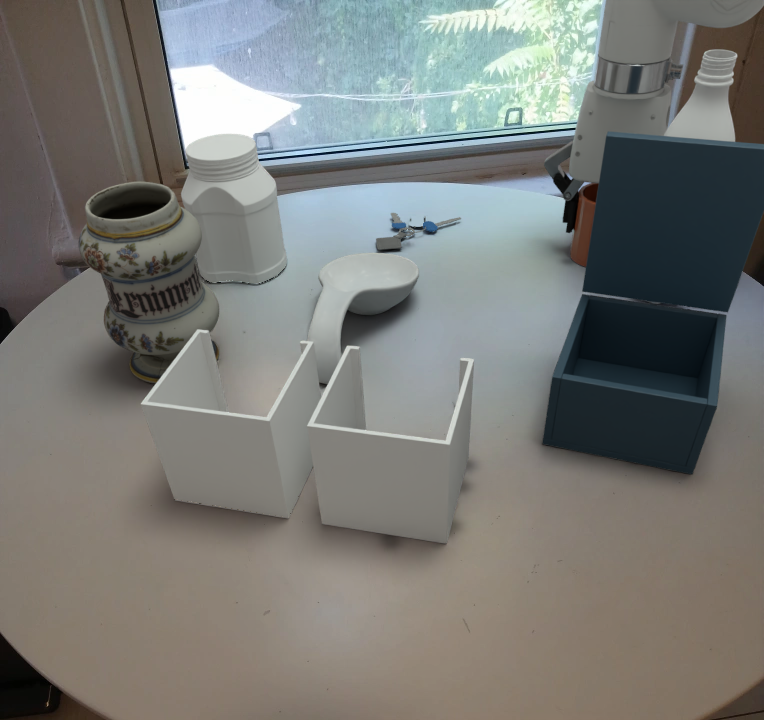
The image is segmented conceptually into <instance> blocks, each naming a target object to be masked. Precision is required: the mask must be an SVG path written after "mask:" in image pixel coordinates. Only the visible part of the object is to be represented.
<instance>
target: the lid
mask: <svg viewBox="0 0 764 720" xmlns="http://www.w3.org/2000/svg"><path fill="white" fill-rule="evenodd" d="M763 215H764V143H752V142H742V141H735V142H730V141H718V140H706V139H694V138H682V137H670V136H658V135H646V134H634V133H622V132H610V131H608V132H607V135H606V140H605V147H604V153H603V160H602V166H601V173H600V179H599V186H598V192H597V199H596V205H595V212H594V218H593V225H592V231H591V237H590V244H589V250H588V257H587V263H586V267H585V269H584V270H585V272H584V276H583V283H582V293H589V294H594V295H595V294H596V295H602V296H610V297H617V298H624V299H629V300H630V299H631V300H639V301H644V302H647V301H651V302H658V303H660V304H666V305H672V306H679V307H685V308H686V307H687V308H693V309H700V310H708V311H715V312H721V313H729V311H730V308H731V305H732V302H733V300H734V297H735V294H736V291H737V288H738V286H739V283H740V280H741V277H742V274H743V271H744V268H745V266H746V262H747V260H748V257H749V255H750V252H751V249H752V246H753V244H754V240H755V237H756V235H757V232H758V229H759V226H760V224H761V221H762V218H763Z"/></svg>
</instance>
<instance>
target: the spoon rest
mask: <svg viewBox="0 0 764 720" xmlns="http://www.w3.org/2000/svg"><path fill="white" fill-rule="evenodd" d="M419 277H420V269H419V266H418V265H417V264H416V263H415V262H414V261H412V260H411V259H409V258H407V257H405V256H401V255H398V254H394V253H383V252H360V253H352V254H346V255H344V256H341V257H338V258H336V259H333V260H331V261H329V262H328V263H326V264H325V265H324V266H323V267H322V268H321V269H320V270H319V273H318V276H317V279H318V281H319V283H320V285H321V288H322V290H321V293H320V295H319V297H318V300H317V303H316V305H315V308H314V312H313V315H312V319H311V322H310V326H309V330H308V333H307V338H306V341H311V342H314V349H315V357H316V364H317V372H318V380H319V384H324V385H328V383H329V381H330V379H331V377H332V375H333V373H334V371H335V369H336V367H337V365H338V363H339V361H340V359H341V357H342V355H343V353H342V345H341V343H342V342H341V340H342V339H341V338H342V330H343V323H344V321H345V317H346V314H347V312H348V311H349V312H351V313H353V314H355V315H360V316H373V315H380V314H382V313H385V312H387V311H389V310H390V309H391V308H393V307H394V306H397V305H398V304H399V303H401V302H403V301H404V300H405V299H406V298H407V297H408V296H409V295H410V294H411V292H412V291H413V290H414V288H415V286H416V285H417V282H418V280H419Z"/></svg>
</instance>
